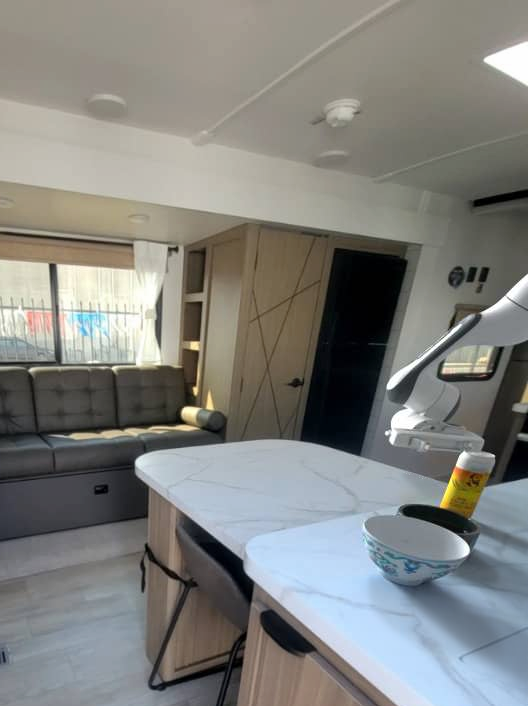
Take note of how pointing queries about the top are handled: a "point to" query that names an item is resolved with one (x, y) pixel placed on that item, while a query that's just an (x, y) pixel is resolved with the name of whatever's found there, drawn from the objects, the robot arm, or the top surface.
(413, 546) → the chinaware
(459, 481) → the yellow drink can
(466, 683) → the top surface
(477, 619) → the top surface
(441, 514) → the dark green bowl
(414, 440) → the robot arm
